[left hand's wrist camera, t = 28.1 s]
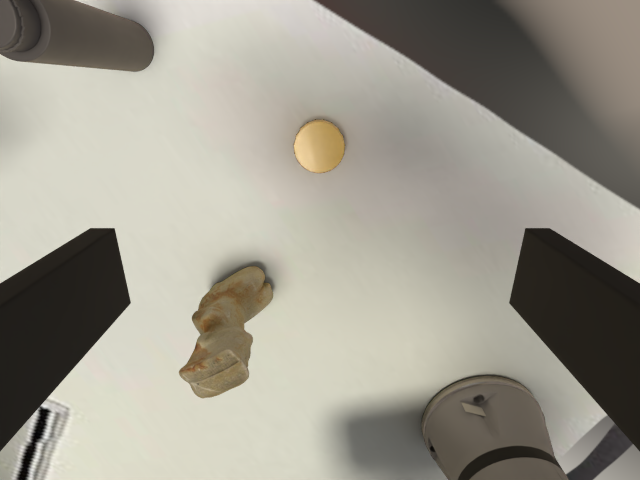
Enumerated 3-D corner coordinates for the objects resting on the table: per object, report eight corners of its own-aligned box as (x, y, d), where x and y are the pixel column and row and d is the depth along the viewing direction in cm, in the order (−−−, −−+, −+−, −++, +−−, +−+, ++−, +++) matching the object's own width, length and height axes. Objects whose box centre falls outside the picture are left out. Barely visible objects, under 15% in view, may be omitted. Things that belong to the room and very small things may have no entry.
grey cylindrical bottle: (139, 81, 35) (7, 76, 20) (99, 49, 34) (-71, 20, 19) (162, 42, 34) (39, 7, 19) (121, 9, 33) (-42, -56, 18)
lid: (321, 107, 36) (321, 108, 34) (354, 146, 37) (356, 150, 35) (284, 142, 37) (282, 145, 35) (317, 179, 38) (317, 184, 36)
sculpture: (281, 297, 43) (262, 397, 29) (224, 317, 44) (181, 423, 30) (259, 254, 41) (228, 339, 27) (200, 276, 42) (141, 369, 28)
